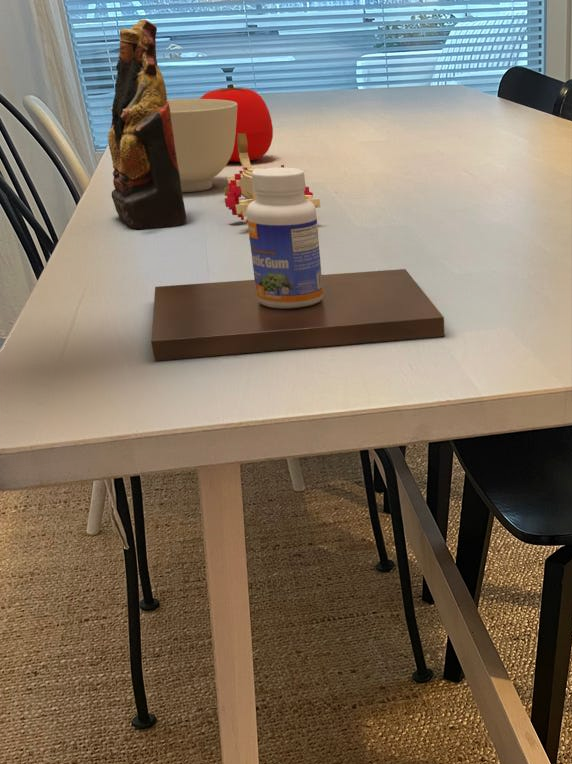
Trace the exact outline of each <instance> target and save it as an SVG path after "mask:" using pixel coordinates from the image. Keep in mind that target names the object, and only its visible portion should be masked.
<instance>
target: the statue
mask: <svg viewBox="0 0 572 764" xmlns="http://www.w3.org/2000/svg"><path fill="white" fill-rule="evenodd" d="M157 31H158V28H157V26H156V25H155V24H154V23H152V22H150V21H149V20H146V19H139V20H138V21H137V23H134V24H133V26H131V27H130V29H129V28H123V27H122V28H121V29H120V30H119V37H120V40H119V51H118V52H119V53H118V61H117V63H116V66H115V67H116V71H117V73H116V74H117V77H116V80H115V85H114V87H115V88H114V96H113V101H112V106H111V107H112V111H111V116H112V117H111V124H110V129H109V131H108V133H107V144H108V147H109V148H108V149H109V152H110V156H111V161H112V169H113V171H112V176H113V180H112V182H113V187H114V189H113V190H112V191H111V199H112V201H113V205H114V207H115V208H114V209H115V211H116V213H117V215H118V217H119V218H120V220H121V221H122V222H124V224H125V225H127V226H129V227H130V228H132V229H135V230H146V229H158V228H167V227H176V226H181V225H185V223H186V222H187V212H186V207H185V202H184V197H183V192H182V190H181V182H180V174H179V168H178V163H177V155H176V150H175V143H174V135H173V129H172V123H171V114H170V108H169V103H168V101H167V100H168V97H167V96H168V95H167V88H166V84H165V80H164V79H165V78H164V77H163V76H164V75H163V74H162V72H161V70H160V67H159V65H158V61H157V42H156V37H157Z"/></svg>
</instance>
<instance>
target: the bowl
mask: <svg viewBox="0 0 572 764" xmlns="http://www.w3.org/2000/svg"><path fill="white" fill-rule="evenodd" d="M167 101H168V103H169V108H170V114H171V123H172V129H173V135H174V143H175V150H176V155H177V163H178V168H179V174H180V182H181V190H182V193H195V192H201V191H206V190H210V189H211V188H212V187H213V178H215V177H216V176H218V175H219V174H220V173H221V172H222V171H223V170H225V168H226V166H227V164H228V163H229V160H230V158H231V155H232V152H233V149H234V143H235V134H236V120H237V103H236V102H233V101H228V100H217V99H200V98H173V99H171V98H170V99H168V98H167ZM110 111H111V112H112V106H110Z"/></svg>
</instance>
